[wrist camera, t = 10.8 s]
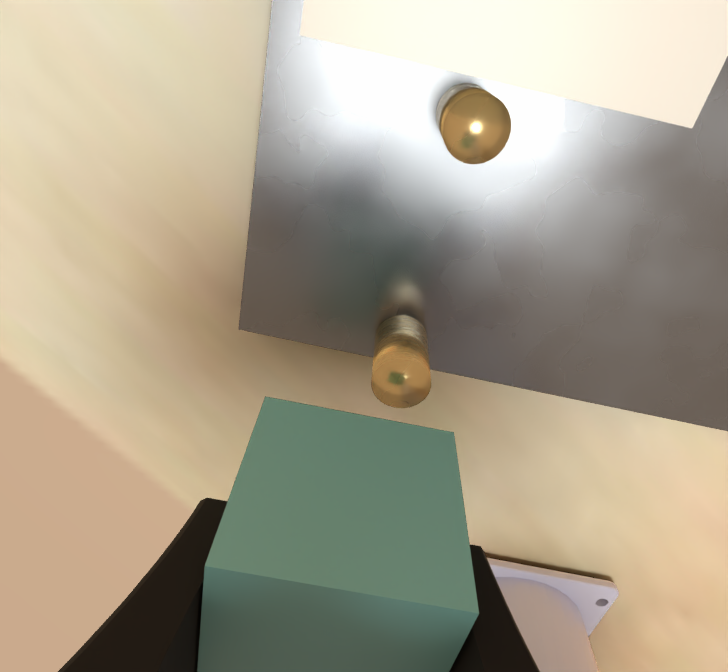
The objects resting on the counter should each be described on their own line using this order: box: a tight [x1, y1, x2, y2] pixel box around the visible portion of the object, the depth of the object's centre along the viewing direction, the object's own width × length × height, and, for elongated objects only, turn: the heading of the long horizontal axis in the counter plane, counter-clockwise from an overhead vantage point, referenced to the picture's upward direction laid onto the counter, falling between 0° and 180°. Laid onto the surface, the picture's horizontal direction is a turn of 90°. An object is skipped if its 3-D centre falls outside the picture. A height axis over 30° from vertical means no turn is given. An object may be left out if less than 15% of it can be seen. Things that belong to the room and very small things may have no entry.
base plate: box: [239, 0, 728, 431], centre depth 13 cm, size 16×22×4 cm
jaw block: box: [197, 397, 479, 672], centre depth 10 cm, size 4×4×4 cm
